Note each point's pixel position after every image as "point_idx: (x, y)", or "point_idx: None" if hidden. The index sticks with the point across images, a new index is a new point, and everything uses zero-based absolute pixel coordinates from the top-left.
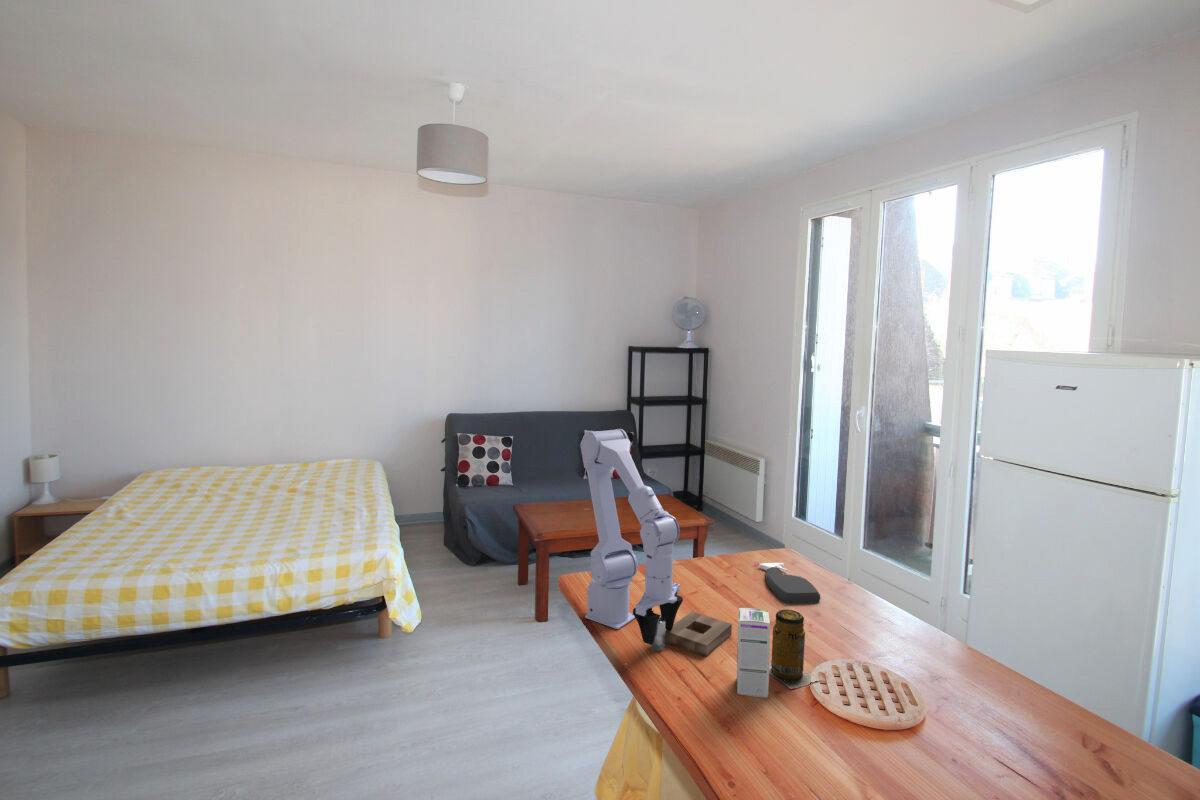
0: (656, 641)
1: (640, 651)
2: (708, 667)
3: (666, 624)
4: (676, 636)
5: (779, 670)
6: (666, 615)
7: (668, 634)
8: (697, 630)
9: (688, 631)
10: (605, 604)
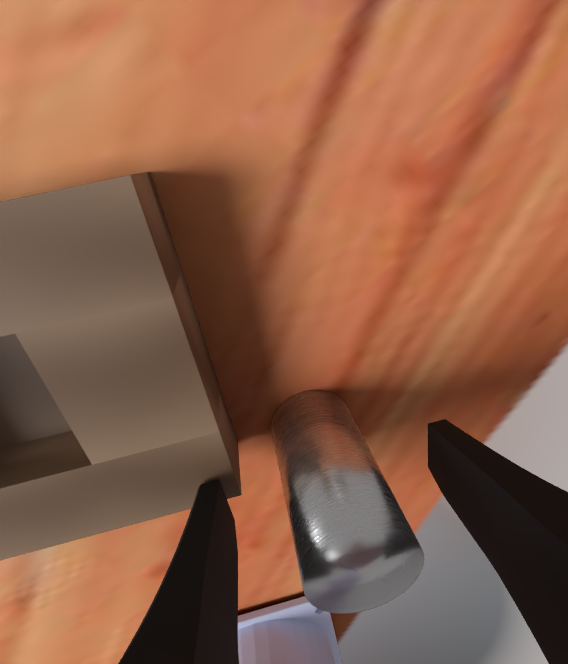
0: (363, 439)
1: (395, 437)
2: (253, 51)
3: (227, 532)
4: (219, 422)
5: None
6: (224, 607)
7: (234, 463)
8: None
9: (102, 422)
10: None
